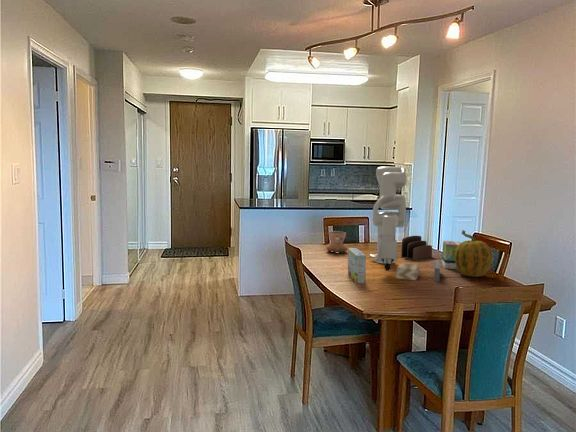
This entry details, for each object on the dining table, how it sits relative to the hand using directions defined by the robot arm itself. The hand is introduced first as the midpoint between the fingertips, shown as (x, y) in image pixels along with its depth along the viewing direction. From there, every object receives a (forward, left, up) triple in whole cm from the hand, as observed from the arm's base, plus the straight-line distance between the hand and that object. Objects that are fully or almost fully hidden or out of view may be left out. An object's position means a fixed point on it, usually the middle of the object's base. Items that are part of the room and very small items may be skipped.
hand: (387, 270), depth 262 cm
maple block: (+11, 0, -3) cm, 11 cm away
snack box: (-15, -14, -3) cm, 21 cm away
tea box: (+35, +36, -3) cm, 50 cm away
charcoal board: (+26, +5, -3) cm, 27 cm away
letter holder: (+14, +58, -3) cm, 59 cm away
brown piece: (-40, +59, -3) cm, 71 cm away
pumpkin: (+45, +14, -3) cm, 47 cm away
